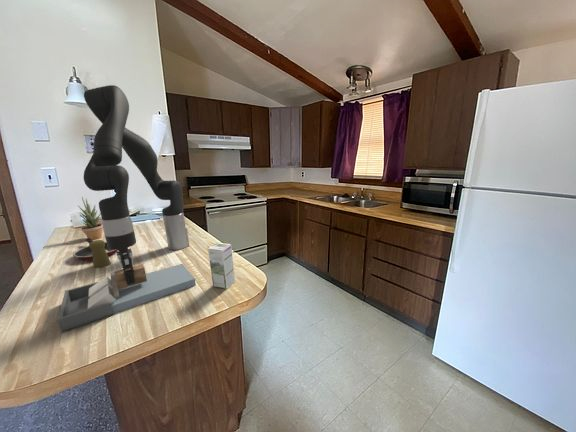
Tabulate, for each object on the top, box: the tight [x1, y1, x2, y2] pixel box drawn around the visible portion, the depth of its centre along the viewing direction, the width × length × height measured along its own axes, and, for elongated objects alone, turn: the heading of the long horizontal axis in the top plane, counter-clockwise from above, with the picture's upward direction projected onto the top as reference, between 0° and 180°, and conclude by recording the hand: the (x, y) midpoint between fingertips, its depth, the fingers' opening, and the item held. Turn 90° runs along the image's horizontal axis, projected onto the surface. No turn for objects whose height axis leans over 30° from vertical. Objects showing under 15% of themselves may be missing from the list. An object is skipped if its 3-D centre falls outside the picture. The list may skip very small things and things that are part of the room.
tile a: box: [88, 285, 116, 309], centre depth 72 cm, size 6×6×3 cm
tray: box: [57, 281, 114, 334], centre depth 73 cm, size 11×18×4 cm, turn 38°
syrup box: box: [207, 242, 236, 290], centre depth 83 cm, size 6×6×14 cm
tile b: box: [88, 275, 112, 298], centre depth 78 cm, size 6×6×3 cm
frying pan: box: [72, 237, 118, 261], centre depth 118 cm, size 19×32×4 cm, turn 50°
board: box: [111, 263, 196, 314], centre depth 83 cm, size 24×16×2 cm, turn 128°
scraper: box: [109, 263, 147, 299], centre depth 78 cm, size 9×14×5 cm, turn 38°
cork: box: [88, 239, 112, 269], centre depth 102 cm, size 6×6×11 cm
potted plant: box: [77, 196, 103, 241], centre depth 135 cm, size 10×10×25 cm
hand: (130, 280), depth 79 cm, fingers closed on scraper, 3 cm apart
